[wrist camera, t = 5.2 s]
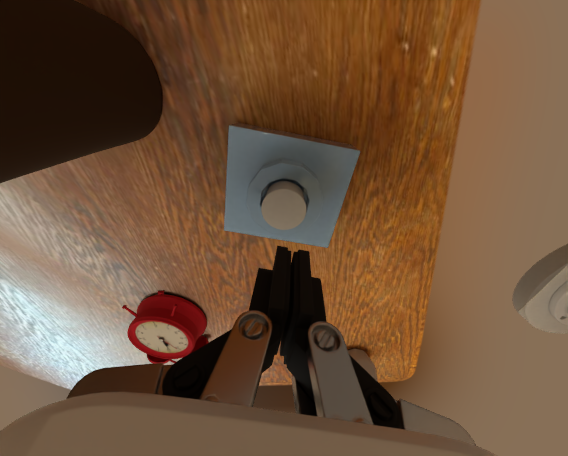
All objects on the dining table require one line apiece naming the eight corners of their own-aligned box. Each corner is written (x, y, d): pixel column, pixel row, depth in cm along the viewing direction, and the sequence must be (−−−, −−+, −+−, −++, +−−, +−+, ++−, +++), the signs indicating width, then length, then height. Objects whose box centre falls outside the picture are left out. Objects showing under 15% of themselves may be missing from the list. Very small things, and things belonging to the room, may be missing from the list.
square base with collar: (351, 144, 21) (366, 155, 17) (324, 232, 26) (330, 258, 22) (237, 122, 20) (222, 127, 16) (231, 216, 25) (218, 239, 21)
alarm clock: (183, 306, 28) (204, 393, 32) (203, 280, 34) (218, 357, 38) (106, 308, 28) (136, 393, 33) (139, 283, 34) (161, 358, 39)
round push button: (309, 184, 18) (311, 193, 17) (300, 221, 20) (301, 233, 18) (267, 177, 18) (264, 184, 16) (261, 215, 20) (258, 226, 18)
